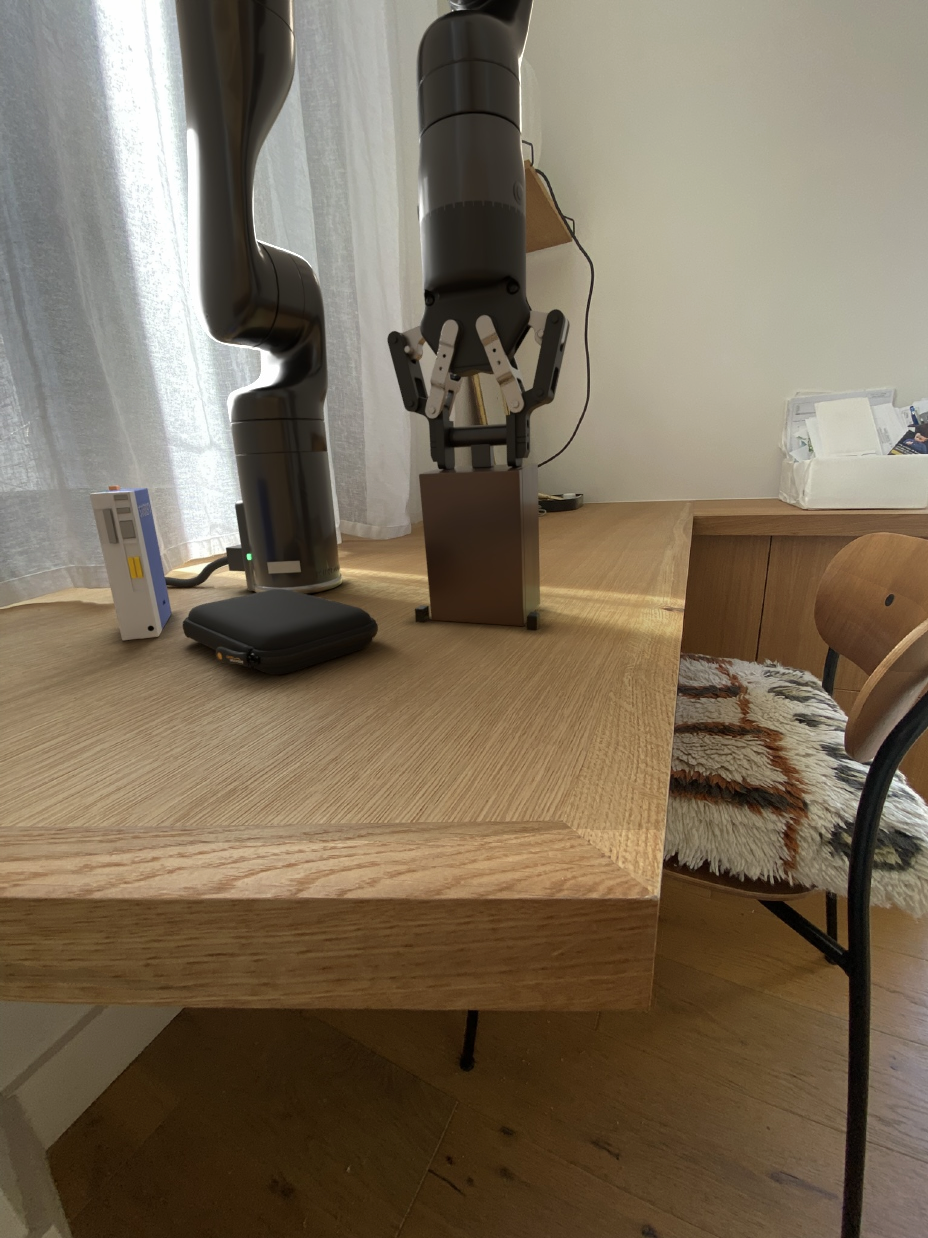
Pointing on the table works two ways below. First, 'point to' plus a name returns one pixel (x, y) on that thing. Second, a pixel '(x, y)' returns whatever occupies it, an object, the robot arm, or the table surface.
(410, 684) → the table surface
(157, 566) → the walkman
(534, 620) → the dark bar
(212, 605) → the carrying case
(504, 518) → the brown box with handle
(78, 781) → the table surface
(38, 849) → the table surface
